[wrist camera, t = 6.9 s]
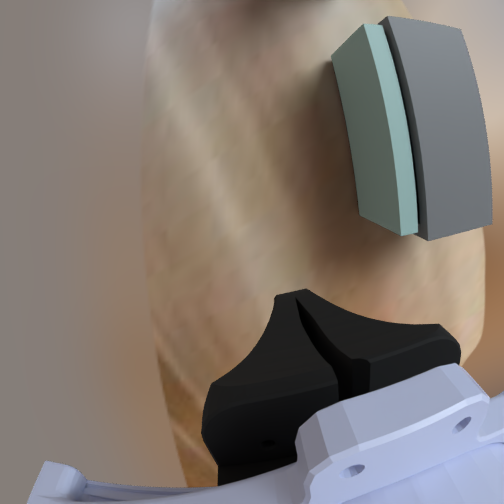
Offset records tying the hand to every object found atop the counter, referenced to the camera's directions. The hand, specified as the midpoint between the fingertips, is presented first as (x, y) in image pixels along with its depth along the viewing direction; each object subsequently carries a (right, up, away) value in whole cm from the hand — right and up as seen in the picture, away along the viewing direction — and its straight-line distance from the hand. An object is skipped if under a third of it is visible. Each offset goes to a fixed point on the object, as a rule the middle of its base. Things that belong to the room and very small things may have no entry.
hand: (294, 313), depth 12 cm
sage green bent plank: (+6, +11, +7) cm, 14 cm away
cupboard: (+9, +12, +8) cm, 17 cm away
